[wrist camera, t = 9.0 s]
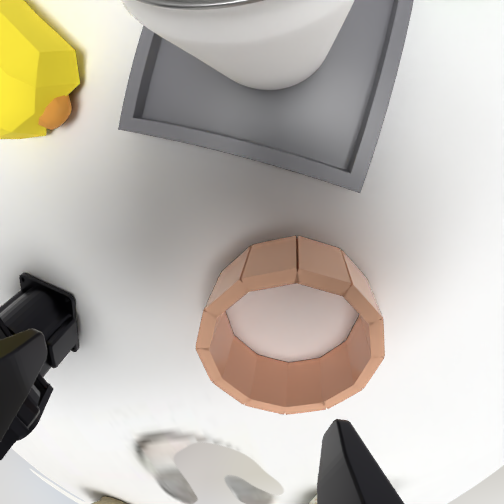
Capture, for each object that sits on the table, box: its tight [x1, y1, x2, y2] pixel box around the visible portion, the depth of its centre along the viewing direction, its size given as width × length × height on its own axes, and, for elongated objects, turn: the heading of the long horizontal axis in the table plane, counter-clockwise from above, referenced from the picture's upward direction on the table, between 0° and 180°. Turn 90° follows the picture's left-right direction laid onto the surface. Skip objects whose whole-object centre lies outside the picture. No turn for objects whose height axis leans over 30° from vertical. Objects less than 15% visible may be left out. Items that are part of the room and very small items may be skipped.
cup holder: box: [196, 235, 385, 414], centre depth 19 cm, size 11×11×4 cm
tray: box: [118, 0, 414, 193], centre depth 14 cm, size 14×14×2 cm
